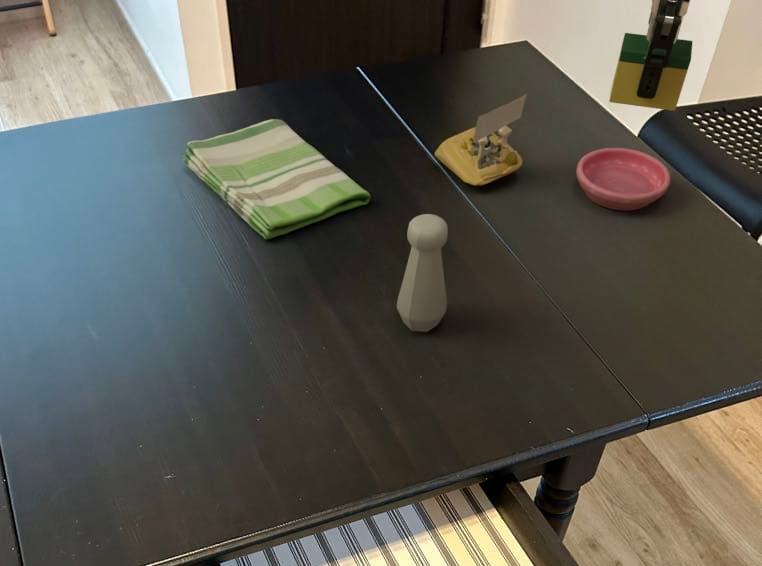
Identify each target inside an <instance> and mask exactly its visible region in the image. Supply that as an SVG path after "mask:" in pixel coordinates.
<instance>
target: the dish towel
mask: <svg viewBox="0 0 762 566" xmlns="http://www.w3.org/2000/svg"><path fill="white" fill-rule="evenodd" d="M182 158H183V163H185V165H186V166H187V167H188V168H189V169H190V170H191V171H192V172H193V173H194V174H195V175H196V176H197V177H198V178H199V179H200V180H201V181H203V182H204V183H205V184H206V185H207V186H208V187H209V188H210V189H211V190H212V191H213V192H214V193H216V195H217V196H218V197H219V198H220V199H222V200H223V201H224V202H225V203H227V204H228V205H229V206H230V208H231V209H232V210H234V212H235V213H236V214H237V215H238V216H239V217H240V218H241V219H242V220H243V221H245V222H246V223H247V224H248V226H250V227H251V228H252V229H253V230H254V231H255V232H256V233H258V234H259V235H260V236H261V237H262V238H263V239H264V240H271V239H275V237H279V236H283V235H286V234H289V233H291V232H294V231H296V230H299V229H301V228H304V227H306V226H310V225H312V224H314V223H318V222H320V221H323V220H325V219H328V218H330V217H332V216H335V215H337V214H340V213H342V212H345V211H350V210H353V209H355V208H358V207H361V206H366V205H368V204H369V202H370V201H371V194H370V192H369V191H367V190H366V189H364V188H363V187H362V186H360V185H359V184H358V183H356V181H354V180H353V179H352V178H351V177H349V176H348V175H347V173H345V172H344V171H343V170H341V169H340V168H339V167H337V166H335V165H334V163H332V162H331V161H330V160H328V159H327V158H326V157H325V156H324V155H323V154H322V153H321V152H320V151H318V150H317V149H316V148H315V147H313V146H312V145H311V144H309V143H308V142H306V141H305V140H304V139H303V138H302V137H300V135H298V134H297V133H296V132H295V131H294V130H293V129H292V128H291V127H290V125H288V123H286V122H285V121H284V120H282V119H277V118H276V119H274V118H271V119H267V120H264V121H261V122H258V123H255V124H251V125H249V126H247V127H244V128H241V129H238V130H235V131H232V132H229V133H224V134H220V135H216V136H214V137H209V138H207V139H203V140H192V141H187V149H186V151H185V154H183V155H182Z"/></svg>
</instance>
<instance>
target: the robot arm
mask: <svg viewBox="0 0 762 566" xmlns="http://www.w3.org/2000/svg"><path fill="white" fill-rule="evenodd" d="M690 2H691V0H651V7H650V13H649V18H648V27H647V32H646V34H645V35H646V39H647V41H648V42H649V45H648V49H647V53H646V56H644V60H643V61H644V68H643V71H642V75H641V79H640V82H639V86H638V90H637V96H638V97H640V98H647V99H653V98H654V97H655V95H656V92H657V88H658V85H659V81H660V78H661V74H662V71H663V68H666V66H667V65H668V63H669V60H668V59H669V56H670V53H671V50H672V47H673V44H674V43H676V41H677V39H679V34H680V30H681V27H682V23H683V20H684V17H685V16H686V15H687V12H688V9H689V5H690ZM654 49H664V50H665V51H664V55H659V54H652V52H653V50H654Z"/></svg>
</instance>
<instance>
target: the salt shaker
mask: <svg viewBox="0 0 762 566" xmlns="http://www.w3.org/2000/svg"><path fill="white" fill-rule="evenodd" d="M448 232H449V229H448V223H447V222H446V221H445V220H444V219H443V217H440V216H438V215H437V214H432V213H424V214H423V213H422V214H420V215H416V216H415V217H413V218H412V219H411V220H410V221H409V223H408V227H407V231H406V233H407V235H406V237H407V241H408V243H409V245H410V246H411V248H410V252H409V255H408V258H407V259H408V261H407V262H406V263H407V264H406V267H405V271H404V275H403V279H402V281H401V282H402V283H401V286H400V290H399V294H398V297H397V301H396V309H397V311H398V313H399V316H400V318H401V320H402V323H404V324H405V325H406V327H408V328H409V330H410V331H413V332H425V333H428V332H429V331H430V330H432V329H434V328H435V327H437V326H438V325H439V323H440V322H441V320H442V319H443V317H444V316H445V314H446V312H447V307H448V299H447V291H446V284H445V274H444V266H443V265H444V264H443V255H442V248H443V247H444V246H445V245H446V243H447V240H448V234H449V233H448Z"/></svg>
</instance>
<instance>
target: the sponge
mask: <svg viewBox="0 0 762 566" xmlns="http://www.w3.org/2000/svg"><path fill="white" fill-rule="evenodd" d="M646 35H647V34H640V33H639V34H638V33H631V32H625V33H624V35H623V40H622V44H621V48H620V51H619V55H618V60H617V64H616V67H615V72H614V77H613V81H612V85H611V89H610V94H609V99H608V102H609V103H613V104H621V105H628V106H635V107H642V108H650V109H658V110H665V111H673V112H675V111H676V110H677V106H678V103H679V99H680V96H681V92H682V90H683V86H684V82H685V81H686V76H687V74H688V70H689V68H690V64H691V61H692V52H693V40H689V39H688V40H687V39H680V38H677V41H676V43H674V44H673V47H672V50H671V53H670V56H669V59H668V60H669V63H668V65H667V66H666V68H663V71H662V74H661V78H660V81H659V85H658V88H657V92H656V95H655V97H654V98H653V99H647V98H640V97H638V96H637V90H638V86H639V82H640V79H641V75H642V71H643V68H644V61H643V60H644V56H646V53H647V49H648V45H649V42H648V41H647V39H646ZM664 51H665V50H664V49H654V50H653V52H652V54H659V55H664Z"/></svg>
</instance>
